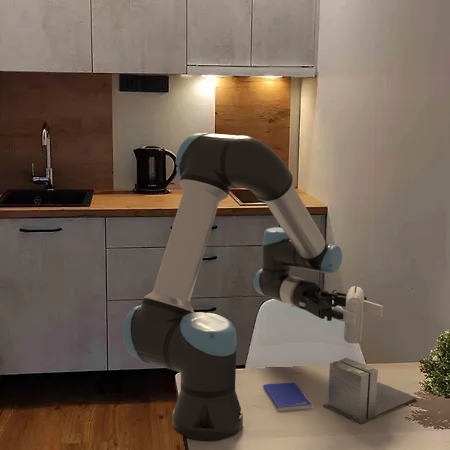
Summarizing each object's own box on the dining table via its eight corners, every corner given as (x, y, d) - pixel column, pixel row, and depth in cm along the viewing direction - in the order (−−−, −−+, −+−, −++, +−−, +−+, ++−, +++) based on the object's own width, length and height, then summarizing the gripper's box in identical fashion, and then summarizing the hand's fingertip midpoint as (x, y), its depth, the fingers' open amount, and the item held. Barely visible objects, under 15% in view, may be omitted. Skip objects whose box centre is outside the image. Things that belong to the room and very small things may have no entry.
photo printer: (361, 344, 171) (364, 294, 169) (343, 343, 172) (345, 293, 170) (362, 330, 181) (365, 283, 179) (345, 329, 182) (347, 281, 180)
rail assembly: (360, 424, 155) (363, 377, 153) (322, 406, 163) (325, 361, 161) (416, 399, 168) (419, 356, 166) (378, 384, 176) (381, 342, 174)
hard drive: (312, 403, 162) (295, 381, 174) (277, 406, 161) (263, 384, 172) (312, 410, 163) (295, 387, 174) (277, 413, 161) (262, 390, 173)
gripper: (328, 299, 197) (396, 321, 180) (270, 315, 183) (337, 340, 166) (330, 273, 195) (398, 292, 178) (271, 286, 181) (339, 308, 164)
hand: (368, 315), depth 172 cm, fingers closed on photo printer, 9 cm apart
